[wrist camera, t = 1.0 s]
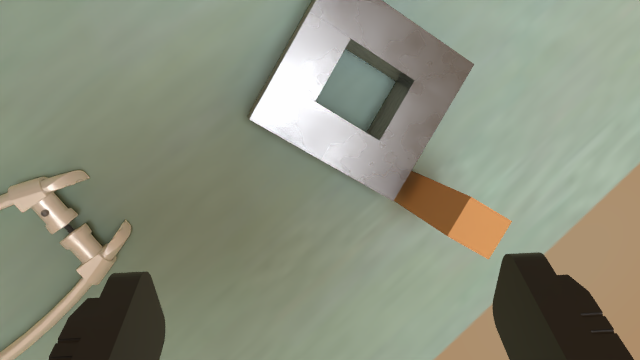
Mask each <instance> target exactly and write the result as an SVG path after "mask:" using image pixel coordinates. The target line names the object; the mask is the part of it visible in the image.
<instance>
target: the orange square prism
mask: <svg viewBox="0 0 640 360" xmlns="http://www.w3.org/2000/svg"><path fill="white" fill-rule="evenodd" d="M394 201H395V202H397V203H398V204H400V205H401V206H403V207H404V208H406V209H407V210H409V211H410V212H412V213H413V214H415V215H416V216H418V217H419V218H421V219H422V220H424V221H425V222H427V223H428V224H430V225H431V226H433V227H434V228H436V229H437V230H439V231H440V232H442V233H444V234H445V235H447V236H448V237H450V238H452V239H453V240H455V241H457V242H459V243H461V244H462V245H464V246H466V247H468V248H469V249H471V250H473V251H475V252H476V253H478V254H480V255H482V256H484V257H485V258H487V259H489V258H490V256H491V255H492V253H493V252H494V250H495V248H496V247H497V245H498V243H499V242H500V240H501V238H502V237H503V235H504V234H505V232H506V230H507V229H508V227H509V225H510V224H511V222H512V221H510V220H509V219H507V218H505V217H504V216H502V215H500V214H499V213H497V212H495V211H494V210H492V209H490V208H489V207H487V206H485V205H484V204H482V203H480V202H479V201H477V200H475V199H474V198H472V197H470V196H468V195H466V194H463V193H461V192H459V191H456V190H454V189H452V188H450V187H447V186H445V185H443V184H440V183H438V182H436V181H434V180H431V179H429V178H427V177H425V176H422V175H420V174H418V173H415V172H413V171H411V172H410V174H409V176H408V177H407V179H406V181H405V182H404V184H403V186H402V187H401V189H400V191H399V193H398V194H397V196H396V198H395V199H394Z"/></svg>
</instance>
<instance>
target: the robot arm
mask: <svg viewBox="0 0 640 360" xmlns="http://www.w3.org/2000/svg"><path fill="white" fill-rule="evenodd" d="M493 316H494V321H495V325H496V328H497V331H498V333H499V335H500V338H501V340H502V343H503V345H504V347H505V350H506V352H507V355H508V357H509V359H510V360H634V359H633V357H632V356H631V355H630V353H629V351H628V350H627V348H626V347H625V345H624V344H623V342H622V341H621V339H620V338H619V336H618V335H617V334H616V333H614V331H613V330H614V329H613V327H612V326H611V324H610V323H609V321H608V320H607V318H606V317H605V316H603V315H602V311H601V309H600V308H599V306H598V305H597V303H596V302H595V300H594V299H593V297H592V296H591V294H590V293H589V291H587V290H586V289H585V288H584V287H582V286H581V285H580V284H579V283H577V282H576V281H575V280H574V279H572V278H571V277H570V276H569V275H556V273H555V272H554V270H553V268H552V267H551V265H550V263H549V262H548V260H547V259H546V257H545V256H544V255H543V254H542V253H539V252H538V253H519V254H506V255H505V256H504V257H503V260H502V263H501V268H500V272H499V277H498V281H497V285H496V290H495V294H494V298H493ZM164 339H165V319H164V315H163V312H162V309H161V305H160V302H159V299H158V296H157V293H156V290H155V287H154V284H153V281H152V278H151V275H150V274H149V273H148V272H129V273H113V274H112V275H110V277H109V278H108V280H107V282H106V285H105V287H104V289H103V291H102V293H101V295H100V298H88V299H87V300H86V301H85V302H84V303H83V304H82V305H81V306H80V307H79V308H78V309H77V310H76V311H75V312H74V313H73V314H72V315H71V316H70V317H69V318H68V320H67V322H66V324H65V326H64V328H63V330H62V332H61V334H60V336H59V338H58V343H56V344H55V346H54V348H53V350H52V352H51V354H50V355H49V360H159V359H160V355H161V352H162V348H163V344H164Z"/></svg>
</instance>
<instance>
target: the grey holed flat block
mask: <svg viewBox="0 0 640 360" xmlns="http://www.w3.org/2000/svg"><path fill="white" fill-rule="evenodd" d="M345 48H346V49H347V50H349V51H350V52H352V53H353V54H355V55H356V56H358V57H359V58H361V59H363V60H364V61H366V62H367V63H369V64H370V65H372V66H373V67H375V68H376V69H378V70H380V71H381V72H383V73H384V74H386V75H387V76H389V77H390V78H392V79H393V80H395V81H396V83H395V85H394V86H393V88H392V90H391V92H390V93H389V95H388V97H387V98H386V100H385V102H384V104H383V105H382V107H381V109H380V111H379V112H378V114H377V116H376V117H375V119H374V121H373V123H372V124H371V126H370V128H369V129H368V131H367V133H366V132H364V131H363V130H361V129H359V128H358V127H356V126H354V125H353V124H351V123H349V122H348V121H346V120H344V119H343V118H341V117H339V116H338V115H336V114H334V113H333V112H331V111H329V110H328V109H326V108H324V107H323V106H321V105H319V104H318V103H316V102H315V101H316V99H317V97H318V95H319V94H320V92H321V90H322V88H323V87H324V85H325V83H326V81H327V79H328V78H329V76H330V74H331V72H332V71H333V69H334V67H335V65H336V64H337V62H338V60H339V58H340V57H341V55H342V53H343V51H344V50H345ZM473 65H474V64H473V63H472V62H470V61H469V60H467V59H466V58H464V57H463V56H462V55H460V54H459V53H457V52H456V51H454V50H453V49H451V48H450V47H449V46H447V45H446V44H444V43H443V42H441V41H440V40H438V39H437V38H436V37H434V36H433V35H431V34H430V33H428V32H427V31H425V30H424V29H423V28H421V27H420V26H418V25H417V24H415V23H414V22H412V21H411V20H410V19H408V18H407V17H405V16H404V15H402V14H401V13H399V12H398V11H397V10H395V9H394V8H392V7H391V6H389V5H388V4H386V3H385V2H384V1H382V0H312V1H311V3H310V5H309V7H308V8H307V10H306V12H305V14H304V16H303V17H302V19H301V21H300V23H299V25H298V26H297V28H296V30H295V32H294V33H293V35H292V37H291V39H290V41H289V42H288V44H287V46H286V48H285V49H284V51H283V53H282V55H281V57H280V58H279V60H278V62H277V64H276V66H275V67H274V69H273V71H272V73H271V74H270V76H269V78H268V80H267V82H266V83H265V85H264V87H263V89H262V90H261V92H260V94H259V96H258V98H257V99H256V101H255V103H254V105H253V107H252V108H251V110H250V112H249V114H248V115H247V117H248V118H249V119H250V120H251V121H253V122H255V123H257V124H258V125H260V126H262V127H264V128H265V129H267V130H269V131H271V132H272V133H274V134H276V135H278V136H279V137H281V138H283V139H285V140H286V141H288V142H290V143H292V144H294V145H295V146H297V147H299V148H301V149H302V150H304V151H306V152H308V153H309V154H311V155H313V156H315V157H316V158H318V159H320V160H322V161H323V162H325V163H327V164H329V165H330V166H332V167H334V168H336V169H337V170H339V171H341V172H343V173H345V174H346V175H348V176H350V177H352V178H353V179H355V180H357V181H359V182H360V183H362V184H364V185H366V186H367V187H369V188H371V189H373V190H374V191H376V192H378V193H380V194H381V195H383V196H385V197H387V198H389V199H390V200H392V201H394V199H395V198H396V196H397V194H398V193H399V191H400V189H401V187H402V186H403V184H404V182H405V181H406V179H407V177H408V176H409V174H410V172H411V171H412V169H413V167H414V165H415V164H416V162H417V160H418V159H419V157H420V155H421V154H422V152H423V150H424V148H425V147H426V145H427V143H428V142H429V140H430V138H431V137H432V135H433V133H434V132H435V130H436V128H437V126H438V125H439V123H440V121H441V120H442V118H443V116H444V115H445V113H446V111H447V110H448V108H449V106H450V104H451V103H452V101H453V99H454V98H455V96H456V94H457V93H458V91H459V89H460V87H461V86H462V84H463V82H464V81H465V79H466V77H467V76H468V74H469V72H470V71H471V69H472V67H473Z"/></svg>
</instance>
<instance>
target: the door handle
mask: <svg viewBox="0 0 640 360" xmlns="http://www.w3.org/2000/svg"><path fill="white" fill-rule="evenodd" d="M89 178H90V177H89V176H88V175H87V174H86V173H85V172H84V171H80V170H77V171H72V172H68V173H64V174H60V175H56V176H53V177H50V178H47V177H39V178H36V179H33V180H29V181H26V182H23V183H19V184H16V185H13V186H10V187H9V188H8V193H5V194H3V195H0V210H2V209H4V208H7V207H9V206H12V205H15V206H16V207H17V208H18V209H19V210H20V211H21V212H22V213H23V212H25V211H27V210H28V209H30V208H32V209H33V210H34V211H35V212H36V213H37V215H38V216H39V217H40V218H41V219H42V220H43V221H44V222H45V223H46V224H47V225H46V226H45V227H46V228H47V230H48V231H49V232H50V233H51V234H53V233H55V232H56V231H58V230H59V229H61V228H63V227H64V228H65V229H66V230H67V231H68V232H69V233H70V234H68V236H66V237H65V238H64V239H63V240H61V241H60V242H59V243H60V244H61V245H62V246H63V247H64V248H65V249H66V250H69V249H70V250H71V251H72V252H73V254H74V255H75V256H76V257H77V258H78V259H79V260H80V261H81V262H82V264H81V265H80V266H79V267H78V269H77V270H76V271H77V272H78V273H79V274H80V275H81V276H82V278H81V279H80V281H79V282H78V283H77V284H76V285H75V286H74V288H73V289H72V290H71V291H70V292H69V293H68V294H67V295H66V296H65V297H64V298H63V299H62V300H61V301H60V302H59V303H58V304H57V305H56V306H55V307H54V308H53V309H52V310H51V311H50V312H49V313H47V314H46V315H45V316H44V317H43V318H42V319H41V320H40V321H38V322H37V323H36V324H35V325H34V326H33V327H32V328H31V329H29V330H28V331H27V332H26V333H25V334H23V335H22V336H21V337H20V338H18V339H17V340H16V341H14V342H13V343H12V344H10V345H9V346H8V347H7V348H5V349H4V350H3V351H1V352H0V360H14V359H15V358H16V357H18V356H19V355H20V354H21V353H23V352H24V351H25V350H27V349H28V348H29V347H30V346H31V345H33V344H34V343H35V342H36V341H37V340H38V339H39V338H40V337H42V336H43V335H44V334H45V333H46V332H47V331H48V330H49V329H51V328H52V327H53V326H54V325H55V324H56V323H57V322H58V321H59V320H60V319H61V318H62V317H63V316H64V315H65V314H66V313H67V312H68V311H69V310H70V309H71V308H72V307H73V306H74V305H75V304H76V303H77V302H78V301H79V300H80V299H81V297H82V296H83V295H84V294H85V293H86V292H87V291H88V289H89V288H90V287H91V286H92V285H98V284H99V283H100V282H101V281H102V279H103V278H104V276H105V275H106V274H107V272H108V271H109V269H110V268H111V267H112V265H113V264H114V263H115V261H116V254H117V253H118V252H119V250H120V249H121V247H122V246H123V244H124V243H125V241H126V240H127V238H128V237H129V235H130V233H131V225H130V224H129V223H128V221H127V220H126V219H125V221H124V222H123V223H122V225H121V227H120V228H119V230H118V231H117V232H116V234H115V235H114V237H113V238H112V240H111V241H110V243H109V244H108V243H107V244H105V245H104V246H101V245H100V243H99V242H98V241H97V240H96V239H95V238H94V237H93V236H92V234H91V232H92V230H91V229H90V228H89V226H88V225H87V224H86V223H85V224H83V225H81V226H80V227H79V228H77V229H75V230H74V229H73V228H72V227H71V226H70V225H69V222H70V221H72V220H73V219H74V218H76V217H77V216H78V214H77V213H76V212H75V211H74V210H73V209H72V208H69V209H68V208H67V207H66V206H65V204H64V203H63V202H62V201H61V200H60V199H59V198H58V197H57V196H56V194H55V193H54V192H55V191H56V190H58V189H61V188H63V187H66V186H70V185H74V184H75V183H77V182H81V181H84V180H86V179H89ZM81 229H82V230H81Z"/></svg>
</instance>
